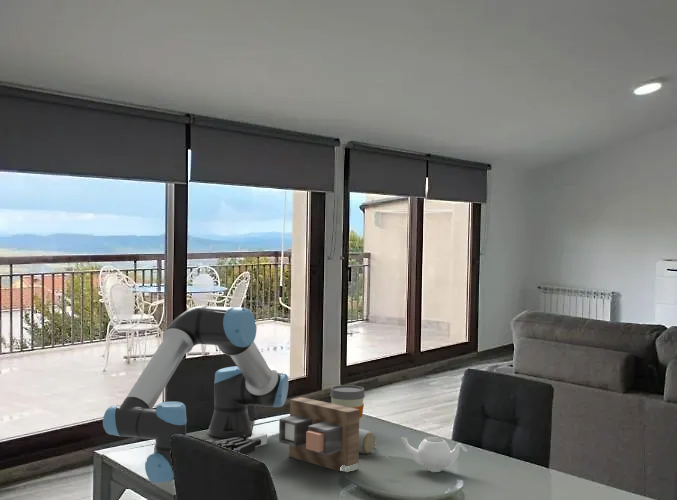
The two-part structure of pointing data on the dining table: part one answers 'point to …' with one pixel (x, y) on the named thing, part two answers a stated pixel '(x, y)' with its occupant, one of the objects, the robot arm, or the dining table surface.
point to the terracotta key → (315, 440)
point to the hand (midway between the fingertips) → (265, 438)
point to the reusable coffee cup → (348, 397)
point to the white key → (289, 431)
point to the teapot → (433, 452)
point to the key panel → (325, 418)
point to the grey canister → (366, 441)
